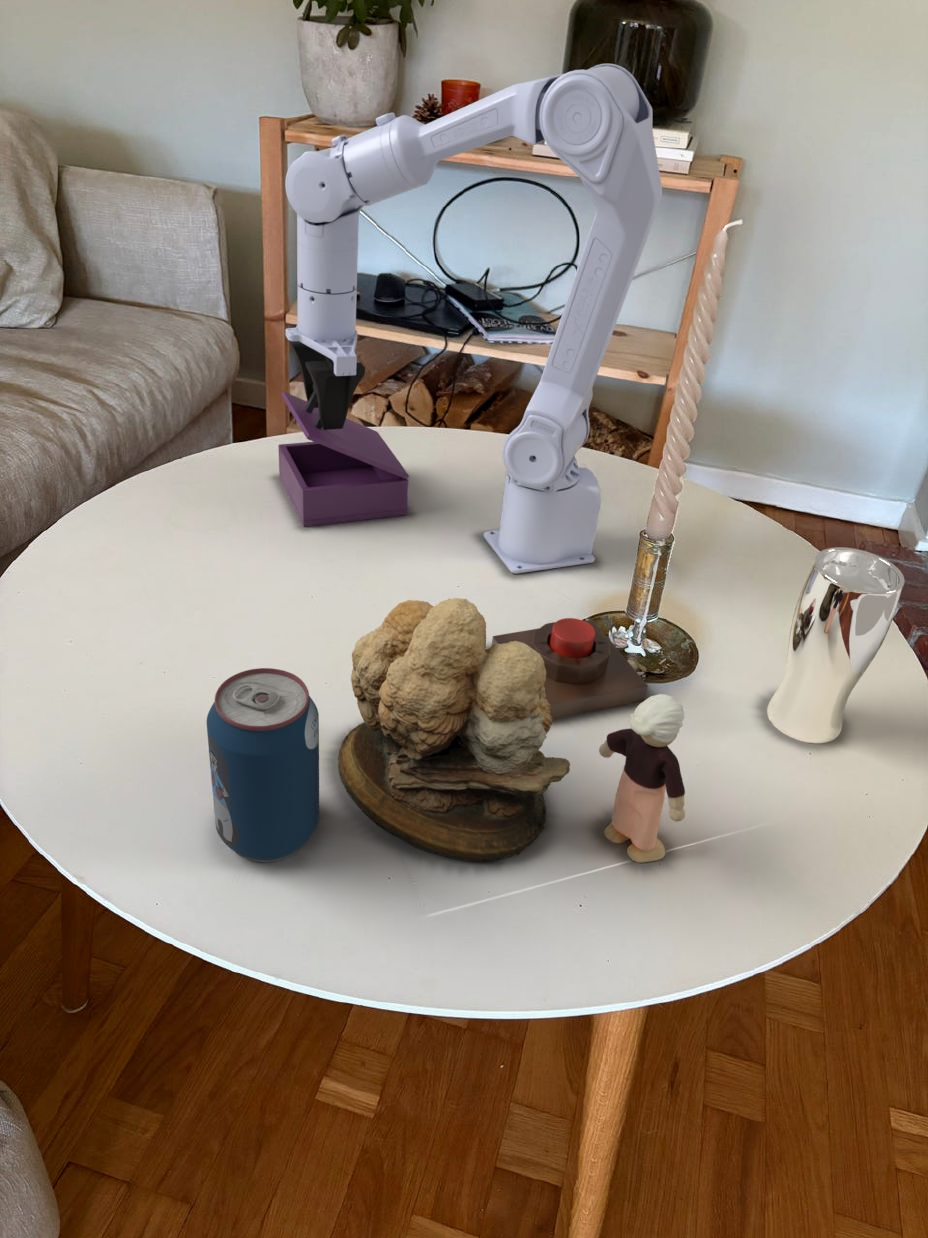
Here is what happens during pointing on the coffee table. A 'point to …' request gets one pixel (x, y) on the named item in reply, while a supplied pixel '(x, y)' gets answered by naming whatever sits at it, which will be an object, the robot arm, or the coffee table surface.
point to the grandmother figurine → (646, 776)
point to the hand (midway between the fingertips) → (325, 416)
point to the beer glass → (833, 640)
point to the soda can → (264, 763)
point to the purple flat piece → (344, 436)
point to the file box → (338, 486)
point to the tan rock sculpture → (449, 733)
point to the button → (572, 638)
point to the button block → (582, 674)
